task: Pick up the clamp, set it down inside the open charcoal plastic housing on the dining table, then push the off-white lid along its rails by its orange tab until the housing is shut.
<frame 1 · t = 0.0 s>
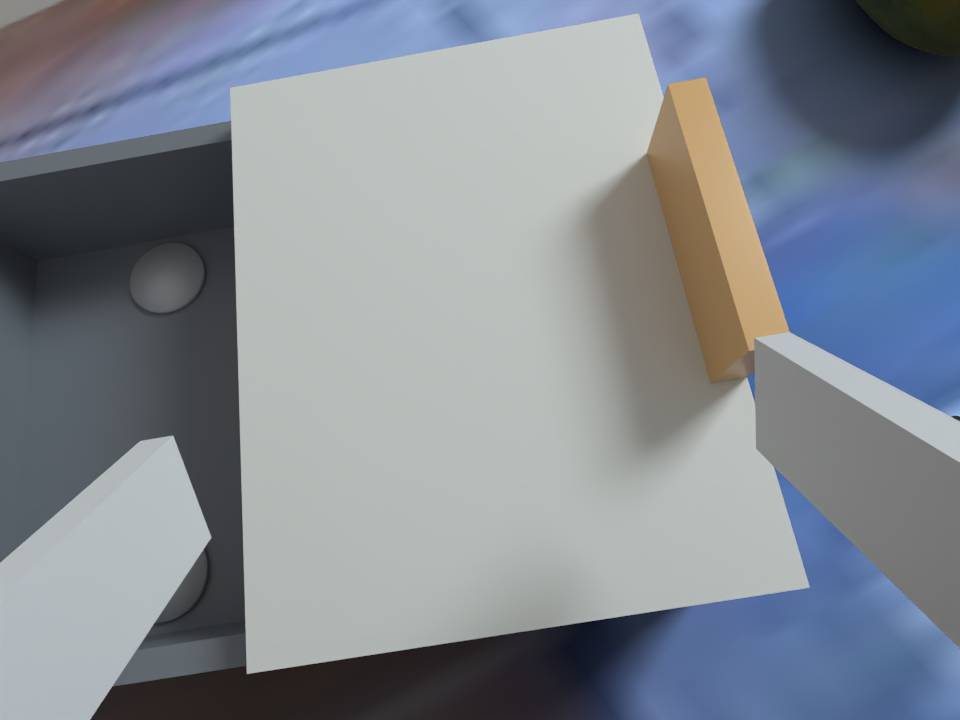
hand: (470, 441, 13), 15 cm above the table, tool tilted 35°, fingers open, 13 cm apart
fruit: (900, 16, 34), on the table
housing: (179, 419, 30), on the table
lid: (467, 280, 20), point 11 cm above the table, slide at 16.0 cm
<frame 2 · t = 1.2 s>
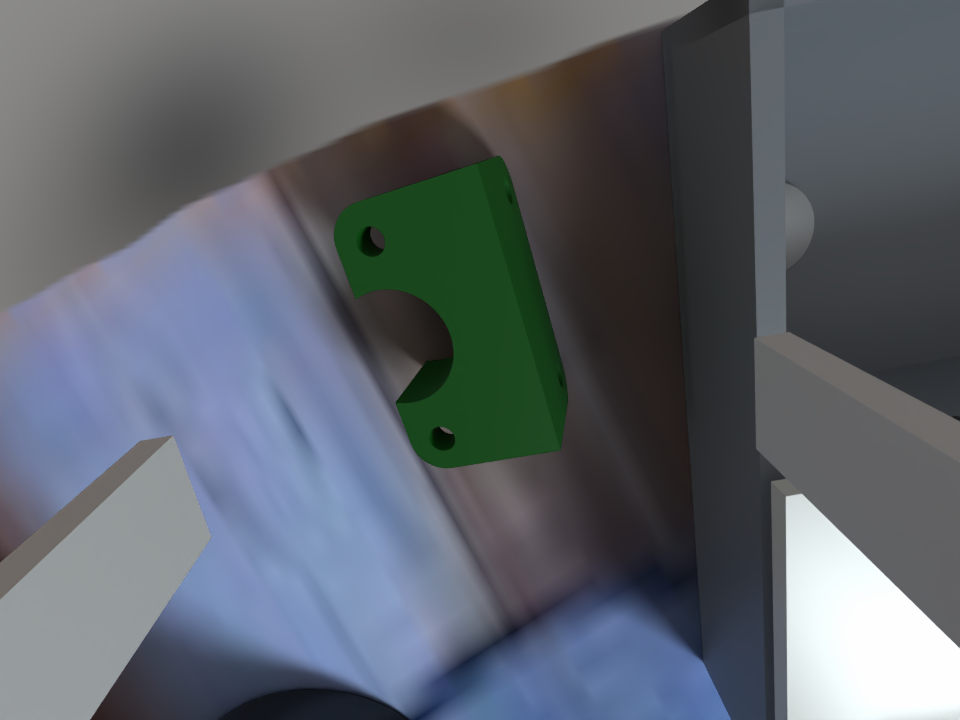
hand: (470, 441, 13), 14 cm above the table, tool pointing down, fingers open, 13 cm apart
housing: (921, 197, 26), on the table
clamp: (462, 299, 27), on the table
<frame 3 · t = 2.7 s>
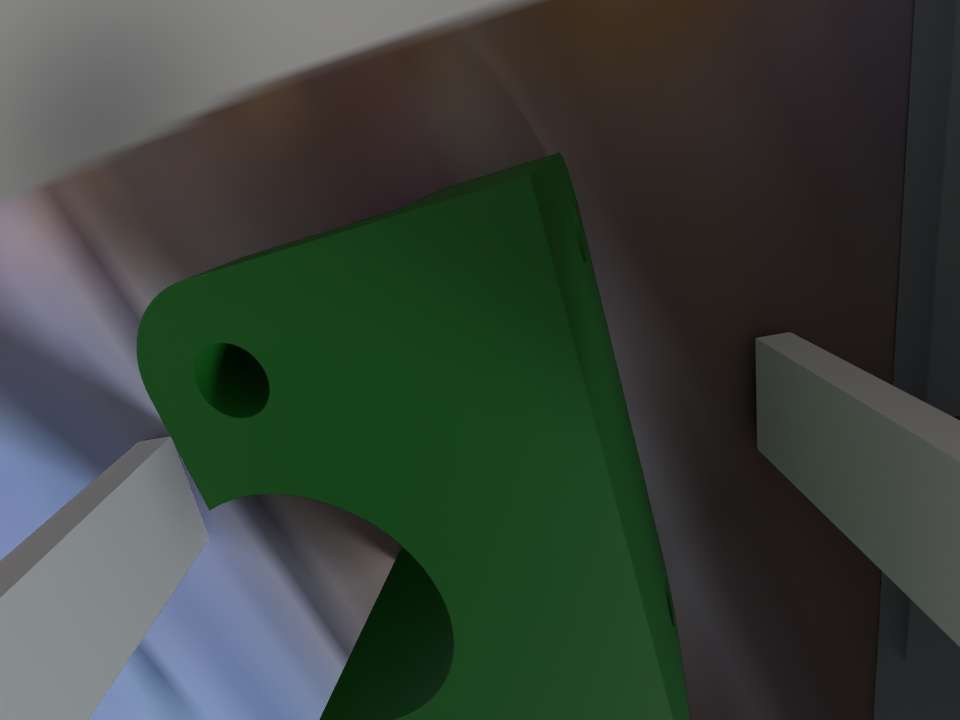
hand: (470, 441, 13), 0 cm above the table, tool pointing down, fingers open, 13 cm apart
clamp: (470, 436, 14), on the table
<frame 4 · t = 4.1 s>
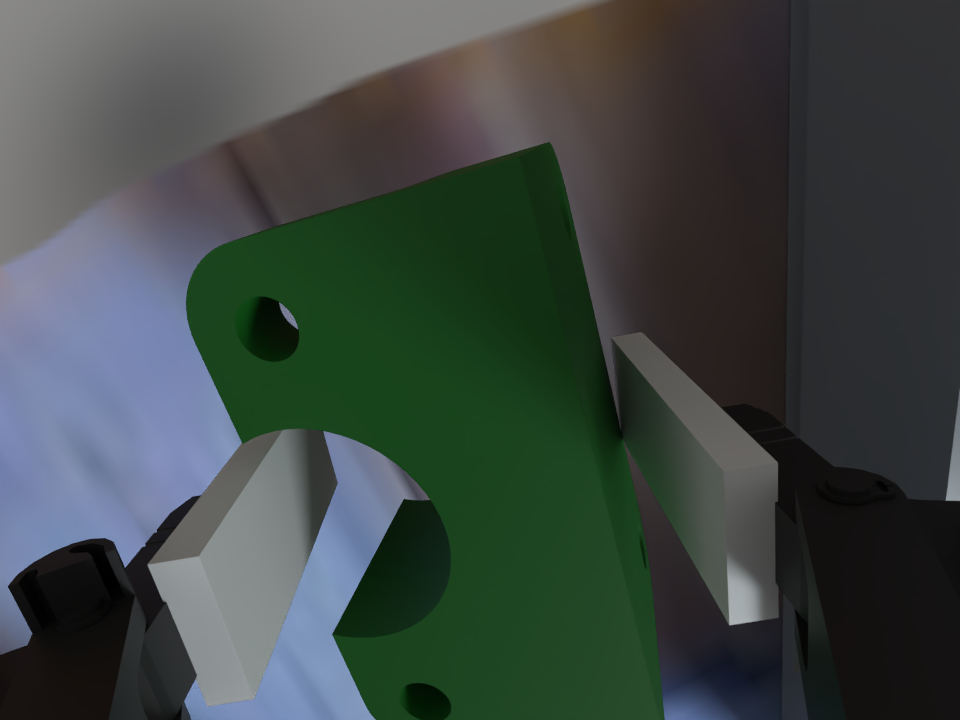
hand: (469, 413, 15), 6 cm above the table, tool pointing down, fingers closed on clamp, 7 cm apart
clamp: (467, 399, 15), point 5 cm above the table, touching gripper
when the fingers open (2 cm above the table, at t = 7.8 s): clamp stays where it is, resting on housing.
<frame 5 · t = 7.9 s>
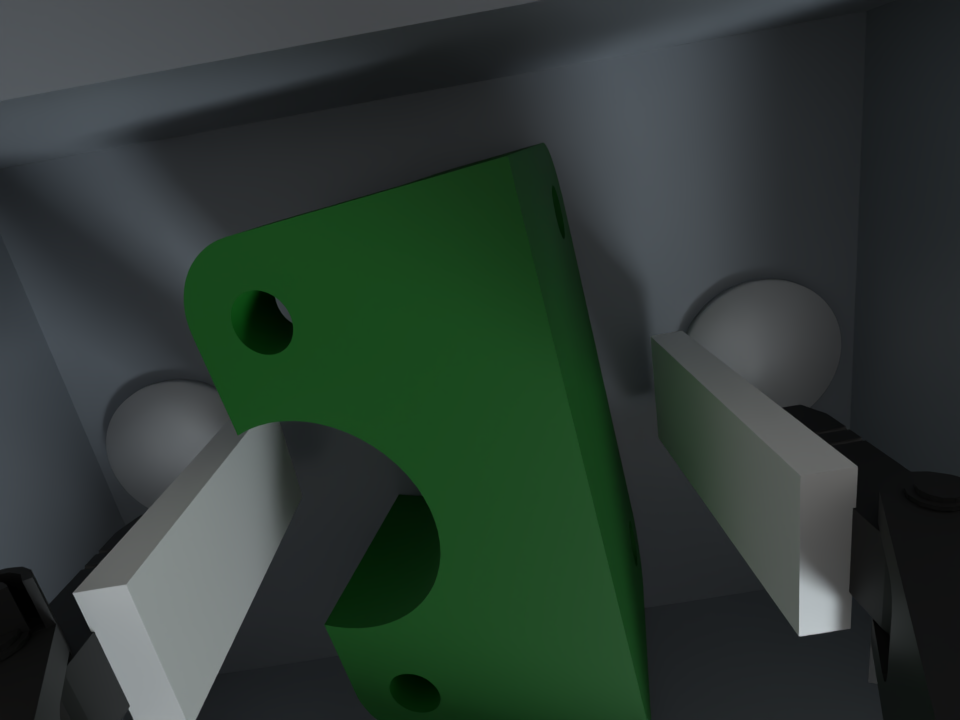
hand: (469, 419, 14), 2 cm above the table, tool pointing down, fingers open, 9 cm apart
housing: (469, 389, 16), on the table
clamp: (462, 396, 16), point 1 cm above the table, touching housing
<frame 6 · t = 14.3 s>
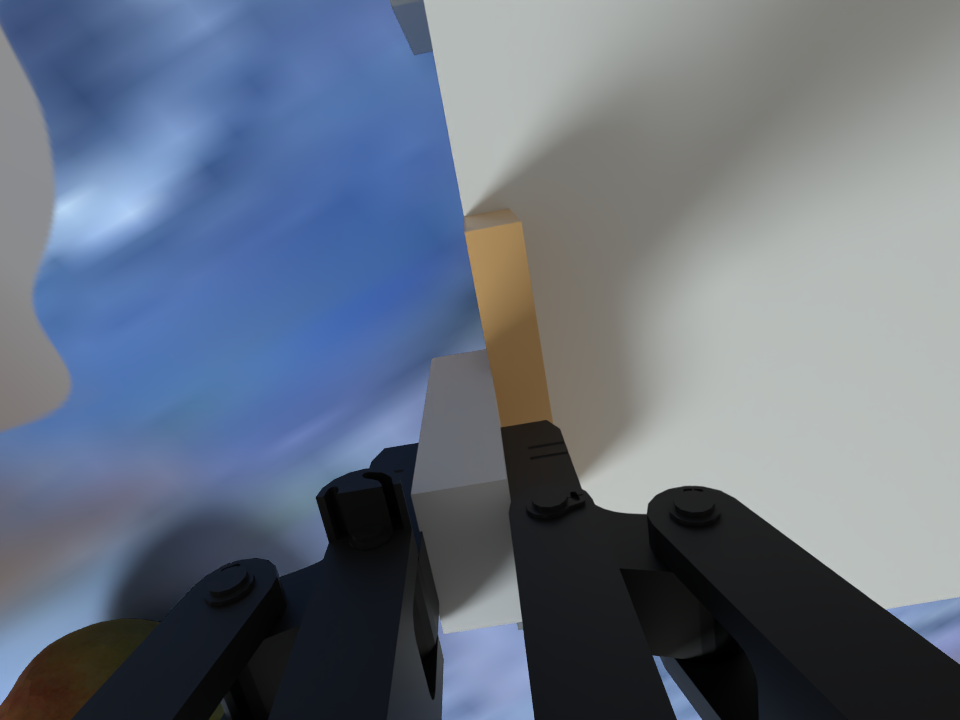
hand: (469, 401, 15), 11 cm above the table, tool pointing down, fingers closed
fruit: (189, 664, 32), on the table
lid: (812, 332, 16), point 11 cm above the table, slide at 15.1 cm, touching gripper
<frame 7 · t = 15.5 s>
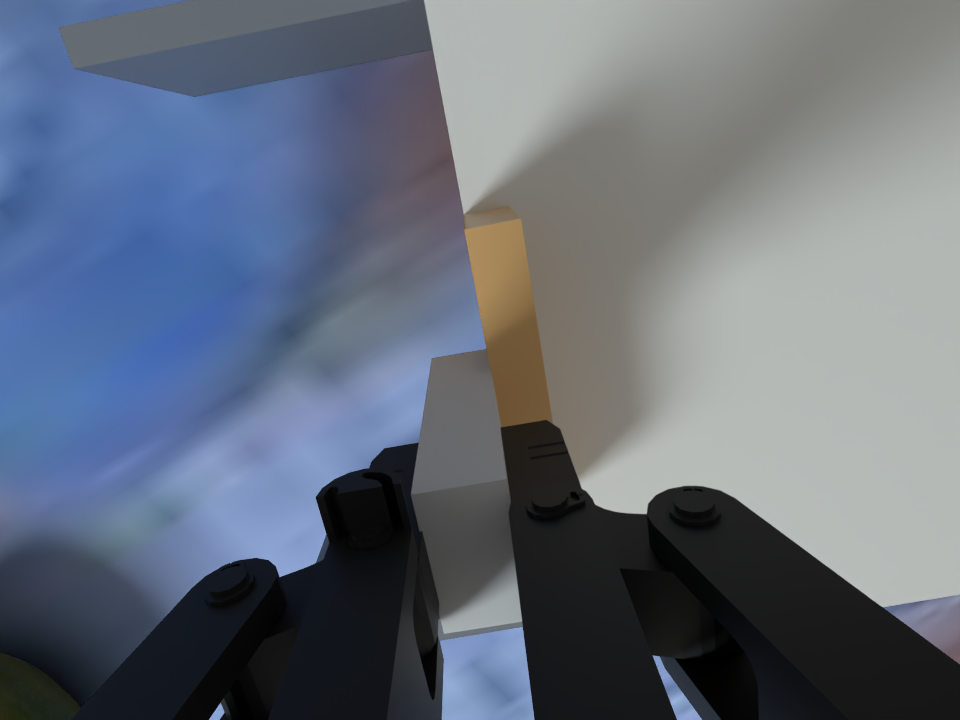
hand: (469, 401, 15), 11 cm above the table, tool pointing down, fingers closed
fruit: (36, 687, 32), on the table
housing: (822, 236, 25), on the table
lid: (811, 330, 16), point 11 cm above the table, slide at 6.4 cm, touching gripper
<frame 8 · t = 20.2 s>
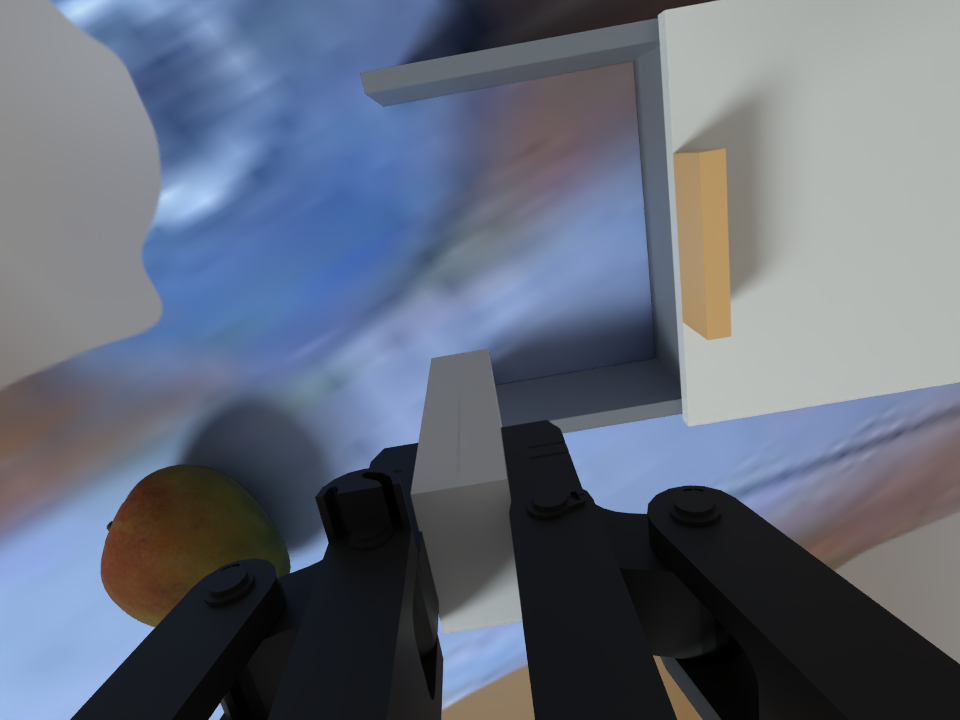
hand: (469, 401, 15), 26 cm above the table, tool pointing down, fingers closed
fruit: (229, 511, 47), on the table
housing: (769, 199, 40), on the table
lid: (852, 216, 30), point 11 cm above the table, slide at 1.0 cm
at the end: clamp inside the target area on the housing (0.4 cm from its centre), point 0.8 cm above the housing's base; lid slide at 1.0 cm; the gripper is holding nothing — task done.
